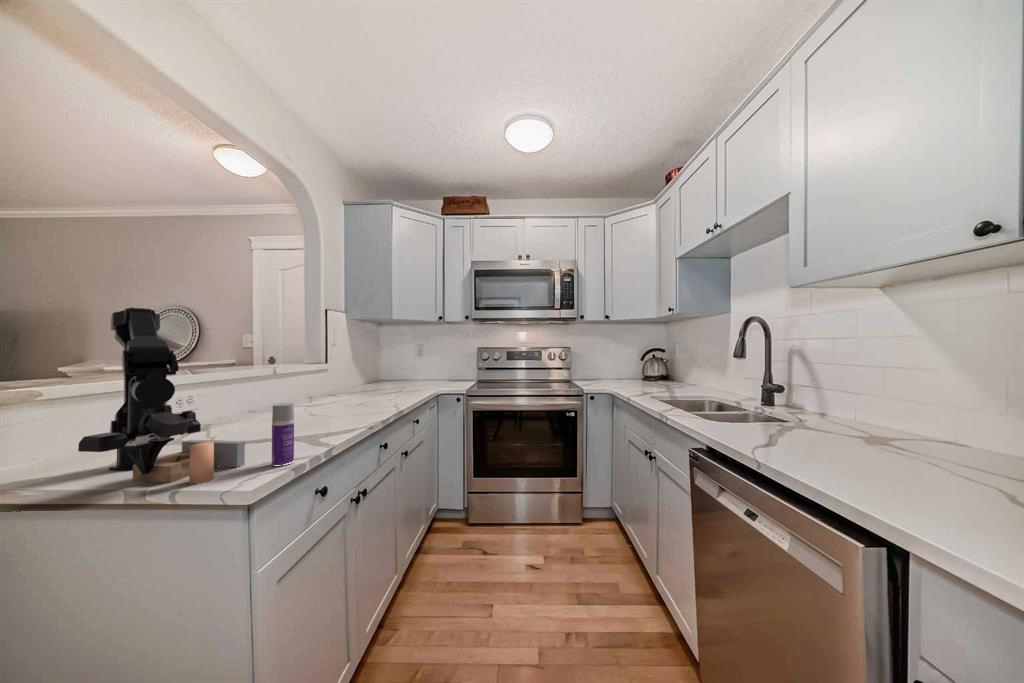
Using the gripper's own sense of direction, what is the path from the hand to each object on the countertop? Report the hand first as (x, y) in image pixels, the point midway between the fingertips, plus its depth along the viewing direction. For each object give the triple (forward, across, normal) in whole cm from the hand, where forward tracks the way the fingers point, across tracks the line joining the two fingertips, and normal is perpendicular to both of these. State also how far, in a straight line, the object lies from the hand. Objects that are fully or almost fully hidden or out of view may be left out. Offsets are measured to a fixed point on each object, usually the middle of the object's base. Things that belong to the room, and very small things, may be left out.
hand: (145, 473), depth 75 cm
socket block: (+2, +6, 0) cm, 6 cm away
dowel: (+2, +3, -11) cm, 11 cm away
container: (+2, +15, -20) cm, 25 cm away
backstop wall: (+2, +12, -3) cm, 13 cm away
